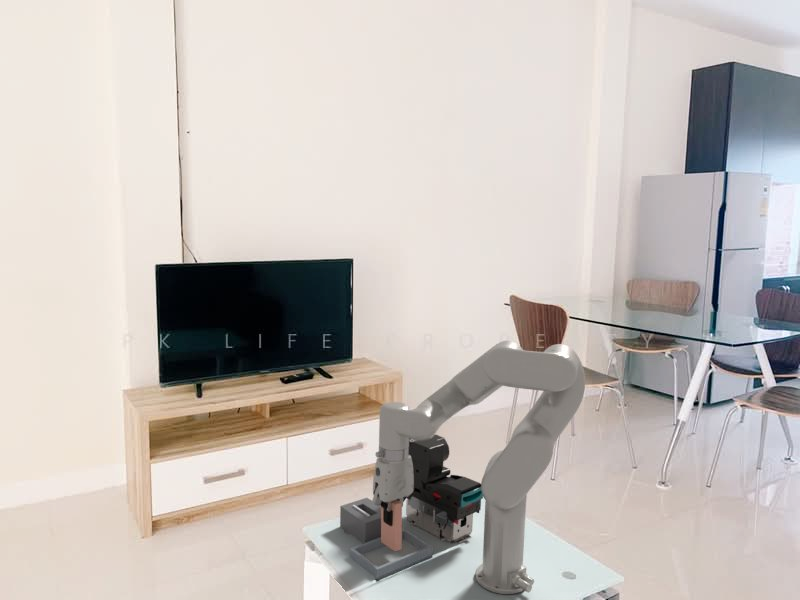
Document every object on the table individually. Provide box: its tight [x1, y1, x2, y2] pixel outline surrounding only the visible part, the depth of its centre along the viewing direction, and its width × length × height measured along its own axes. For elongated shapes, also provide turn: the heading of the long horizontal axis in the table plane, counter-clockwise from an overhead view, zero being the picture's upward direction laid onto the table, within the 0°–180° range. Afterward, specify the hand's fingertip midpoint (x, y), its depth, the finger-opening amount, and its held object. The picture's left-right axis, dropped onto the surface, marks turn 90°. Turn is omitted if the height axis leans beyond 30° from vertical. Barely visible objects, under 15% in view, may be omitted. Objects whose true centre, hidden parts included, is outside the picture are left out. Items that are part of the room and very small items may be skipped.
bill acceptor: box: [405, 434, 484, 544], centre depth 167 cm, size 10×23×25 cm, turn 44°
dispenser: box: [339, 497, 381, 544], centre depth 165 cm, size 12×9×7 cm
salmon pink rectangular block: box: [381, 500, 403, 552], centre depth 152 cm, size 6×2×12 cm, turn 38°
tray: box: [349, 528, 434, 582], centre depth 153 cm, size 12×18×3 cm, turn 129°
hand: (391, 522), depth 152 cm, fingers closed on salmon pink rectangular block, 1 cm apart
